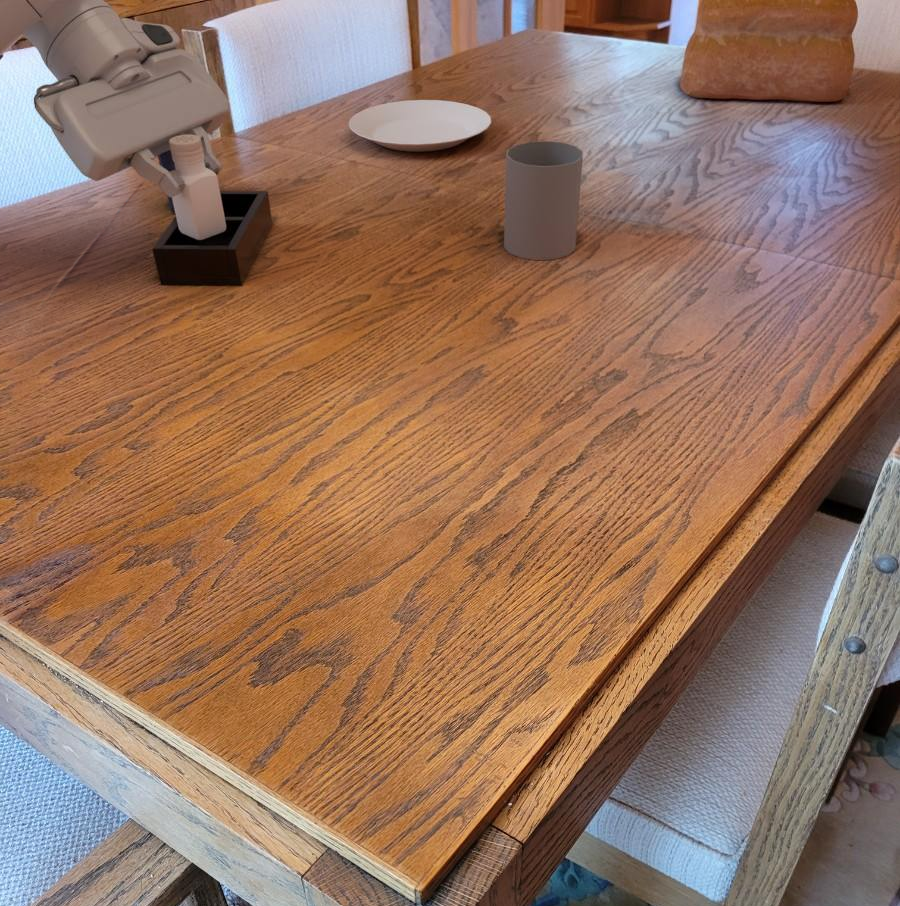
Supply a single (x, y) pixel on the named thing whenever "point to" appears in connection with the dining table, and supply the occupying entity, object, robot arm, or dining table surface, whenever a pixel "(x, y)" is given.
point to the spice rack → (217, 244)
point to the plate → (420, 124)
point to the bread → (771, 50)
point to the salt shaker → (196, 190)
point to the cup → (542, 199)
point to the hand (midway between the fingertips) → (197, 182)
